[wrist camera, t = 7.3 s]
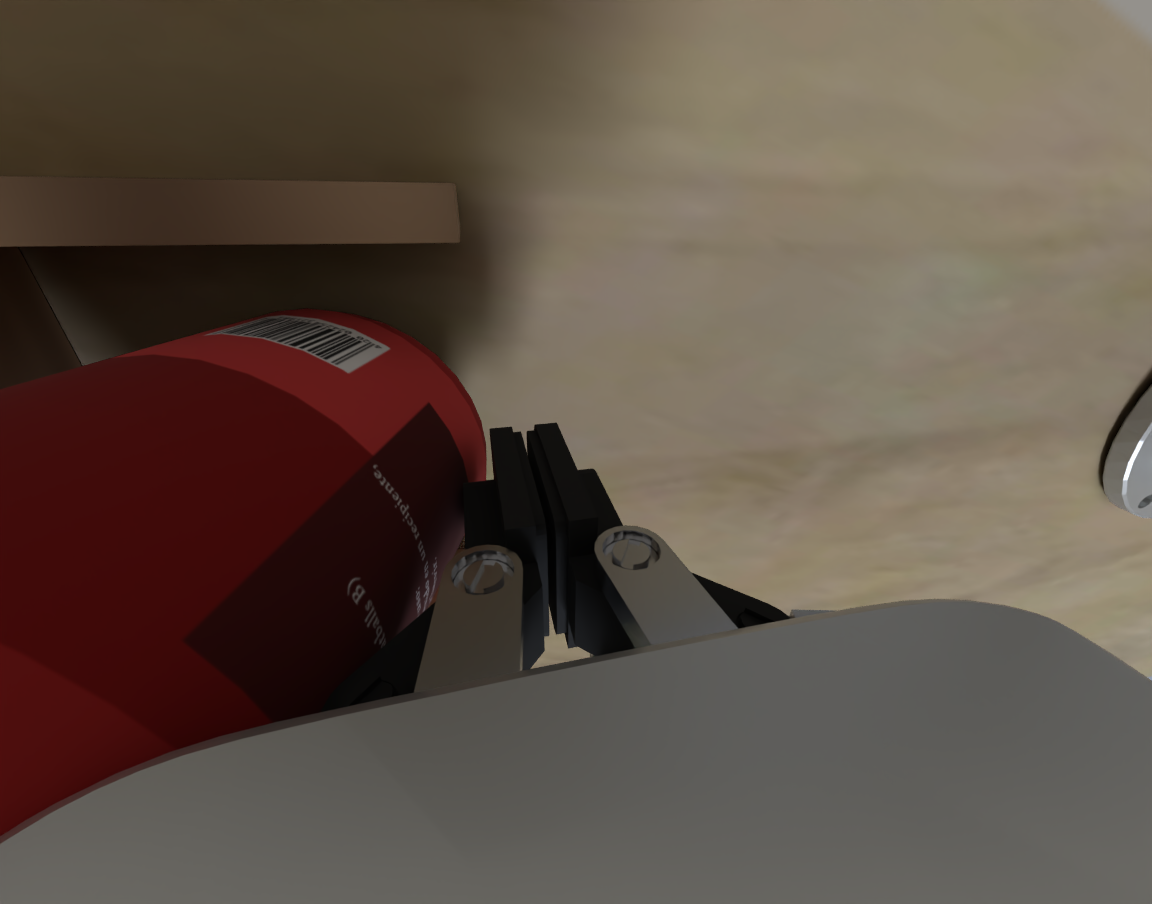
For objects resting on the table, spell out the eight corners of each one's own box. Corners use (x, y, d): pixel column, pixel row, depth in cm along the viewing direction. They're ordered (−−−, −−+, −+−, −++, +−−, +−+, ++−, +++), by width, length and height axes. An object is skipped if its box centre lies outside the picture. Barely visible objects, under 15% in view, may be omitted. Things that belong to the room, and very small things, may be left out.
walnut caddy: (456, 184, 12) (453, 183, 8) (511, 735, 24) (519, 825, 21) (-78, 176, 10) (-364, 170, 6) (281, 783, 22) (248, 892, 19)
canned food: (171, 378, 13) (-1130, 858, 3) (386, 239, 11) (-1841, 521, 1) (343, 571, 16) (-100, 1129, 6) (543, 495, 14) (328, 1203, 4)
